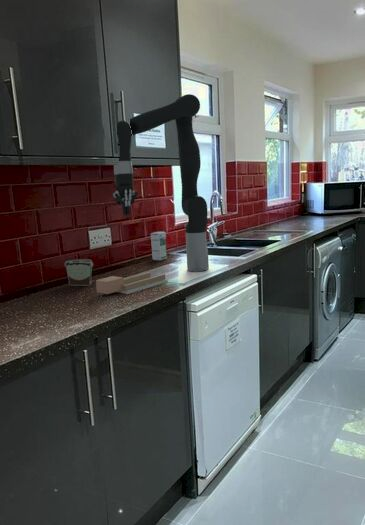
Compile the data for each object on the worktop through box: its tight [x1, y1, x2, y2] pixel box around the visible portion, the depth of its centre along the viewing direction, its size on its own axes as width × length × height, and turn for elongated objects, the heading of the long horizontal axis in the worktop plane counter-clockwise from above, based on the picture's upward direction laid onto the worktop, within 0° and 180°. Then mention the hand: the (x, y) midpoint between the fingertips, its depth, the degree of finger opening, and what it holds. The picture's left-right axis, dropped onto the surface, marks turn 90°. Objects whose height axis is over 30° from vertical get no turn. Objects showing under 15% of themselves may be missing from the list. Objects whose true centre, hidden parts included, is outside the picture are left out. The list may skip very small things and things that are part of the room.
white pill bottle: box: [150, 231, 168, 261], centre depth 230 cm, size 6×6×14 cm
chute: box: [116, 271, 169, 295], centre depth 172 cm, size 22×12×3 cm, turn 140°
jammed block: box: [95, 275, 124, 295], centre depth 161 cm, size 8×6×4 cm
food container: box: [64, 258, 94, 287], centre depth 180 cm, size 12×6×10 cm, turn 74°
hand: (126, 215), depth 181 cm, fingers closed
